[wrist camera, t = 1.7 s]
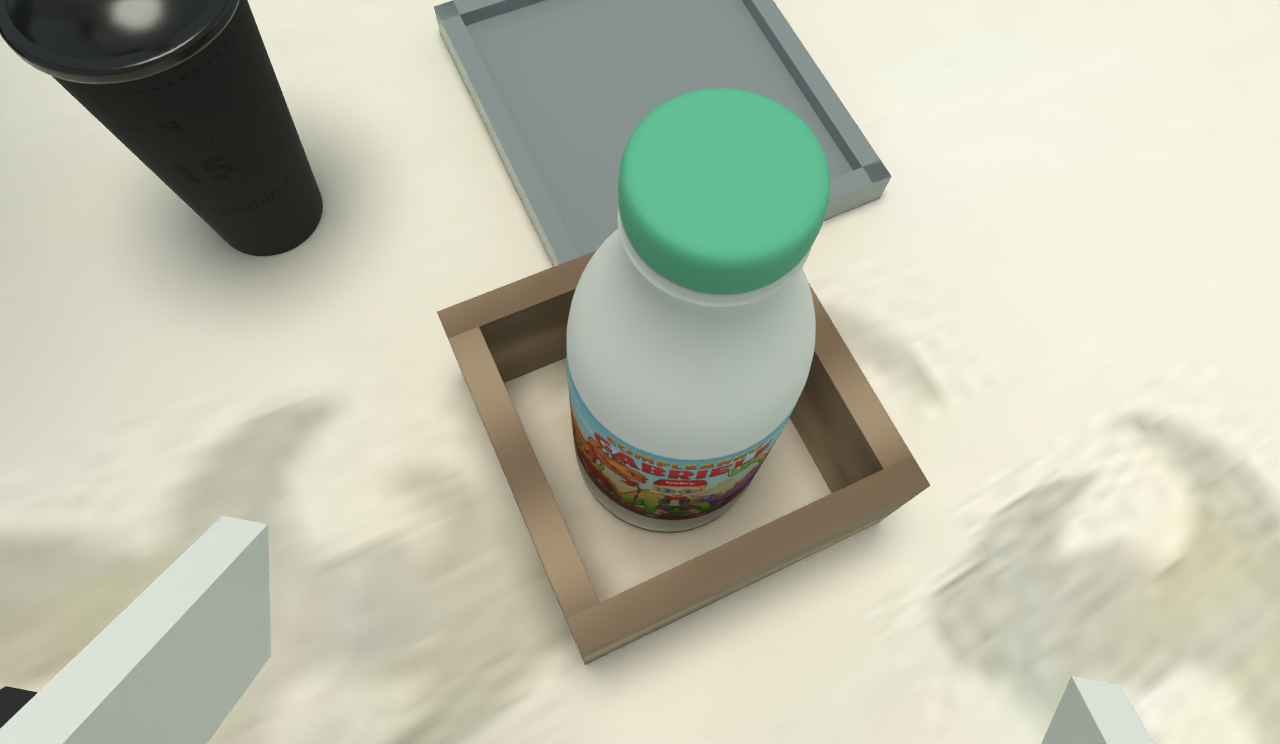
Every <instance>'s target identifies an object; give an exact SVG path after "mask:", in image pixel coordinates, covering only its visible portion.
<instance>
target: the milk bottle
mask: <svg viewBox="0 0 1280 744" xmlns="http://www.w3.org/2000/svg"><path fill="white" fill-rule="evenodd" d="M829 199H830V171H829V166H828V161H827V158H826V155H825V152H824V150H823V148H822V146H821V144H820V142H819V140H818V138H817V137H816V136H815V134H814V133H813V131H812V130H811V129H810V128H809V126H808V125H807V124H806V123H805V122H804V121H803V120H802V119H801V118H800V117H799V116H797V115H796V114H795V113H794V112H792V111H791V110H790V109H788V108H787V107H785V106H784V105H782V104H780V103H778V102H776V101H774V100H772V99H770V98H768V97H765V96H763V95H760V94H757V93H753V92H750V91H745V90H740V89H733V88H707V89H699V90H695V91H690V92H687V93H683V94H680V95H678V96H675V97H673V98H671V99H669V100H667V101H665V102H663V103H662V104H660V105H659V106H657V107H656V108H654V109H653V110H652V111H651V112H649V113H648V114H647V115H646V116H645V117H644V118H643V119H642V121H641V122H640V123H639V124H638V125H637V127H636V128H635V130H634V131H633V133H632V135H631V137H630V139H629V141H628V143H627V145H626V147H625V149H624V152H623V155H622V159H621V164H620V171H619V180H618V203H619V207H618V229H617V230H616V231H615V232H613V233H612V234H611V235H610V236H609V237H608V238H607V239H606V240H605V241H604V242H603V244H602V245H601V246H600V247H599V248H598V250H597V251H596V252H595V254H594V255H593V257H592V258H591V260H590V261H589V263H588V264H587V266H586V268H585V270H584V272H583V274H582V276H581V278H580V280H579V282H578V285H577V287H576V290H575V292H574V296H573V299H572V303H571V308H570V312H569V318H568V324H567V374H568V386H569V398H570V408H571V417H572V427H573V435H574V444H575V450H576V455H577V460H578V464H579V467H580V470H581V473H582V475H583V478H584V480H585V482H586V484H587V486H588V487H589V489H590V490H591V492H592V493H593V494H594V496H595V497H596V498H597V500H598V501H599V502H600V503H601V504H602V505H603V506H604V507H606V508H607V509H608V510H609V511H610V512H612V513H613V514H614V515H616V516H617V517H619V518H621V519H623V520H624V521H626V522H628V523H631V524H633V525H635V526H638V527H642V528H645V529H650V530H656V531H681V530H687V529H691V528H695V527H698V526H701V525H703V524H706V523H708V522H710V521H712V520H714V519H716V518H717V517H719V516H720V515H722V514H723V513H724V512H725V511H727V510H728V509H729V508H730V507H731V506H732V505H733V504H734V503H735V502H736V501H737V500H738V498H739V497H740V496H741V495H742V493H743V492H744V491H745V490H746V488H747V486H748V485H749V483H750V482H751V480H752V479H753V477H754V475H755V474H756V472H757V471H758V469H759V467H760V466H761V464H762V463H763V461H764V459H765V458H766V456H767V454H768V453H769V451H770V450H771V448H772V446H773V445H774V443H775V441H776V439H777V438H778V436H779V434H780V433H781V431H782V429H783V427H784V426H785V424H786V422H787V420H788V419H789V417H790V415H791V413H792V411H793V409H794V407H795V405H796V403H797V401H798V399H799V397H800V394H801V392H802V390H803V388H804V386H805V383H806V380H807V378H808V374H809V370H810V367H811V363H812V358H813V354H814V347H815V330H816V321H815V310H814V305H813V299H812V294H811V290H810V287H809V284H808V281H807V279H806V276H805V274H804V271H803V269H802V267H803V265H804V263H805V261H806V259H807V257H808V255H809V252H810V250H811V246H812V244H813V242H814V241H815V239H816V237H817V235H818V233H819V231H820V228H821V226H822V223H823V220H824V217H825V215H826V212H827V208H828V204H829Z"/></svg>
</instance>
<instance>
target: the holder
mask: <svg viewBox="0 0 1280 744" xmlns="http://www.w3.org/2000/svg"><path fill="white" fill-rule="evenodd" d="M596 251H597V250H596ZM596 251H594V252H591V253H588V254H586V255H583V256H581V257H578V258H576V259H573V260H570V261H568V262H565V263H563V264H560V265H557V266H555V267H552V268H550V269H547V270H544V271H542V272H539V273H537V274H534V275H531V276H529V277H526V278H524V279H521V280H518V281H516V282H513V283H511V284H508V285H506V286H503V287H500V288H498V289H495V290H493V291H490V292H487V293H485V294H482V295H480V296H477V297H474V298H472V299H469V300H467V301H464V302H461V303H459V304H456V305H454V306H451V307H448V308H446V309H443V310H441V311H438V312H437V313H438V315H439V318H440V320H441V323H442V325H443V328H444V330H445V332H446V335H447V337H448V340H449V342H450V344H451V347H452V349H453V352H454V354H455V357H456V359H457V361H458V364H459V366H460V369H461V371H462V373H463V376H464V378H465V381H466V383H467V385H468V388H469V390H470V392H471V395H472V397H473V400H474V402H475V404H476V407H477V409H478V411H479V414H480V416H481V419H482V421H483V423H484V426H485V428H486V430H487V433H488V435H489V438H490V440H491V442H492V445H493V447H494V449H495V452H496V454H497V457H498V459H499V461H500V464H501V466H502V468H503V471H504V473H505V476H506V478H507V480H508V483H509V485H510V487H511V490H512V492H513V495H514V497H515V499H516V502H517V504H518V507H519V509H520V511H521V514H522V516H523V518H524V521H525V523H526V526H527V528H528V530H529V533H530V535H531V537H532V540H533V542H534V545H535V547H536V549H537V552H538V554H539V556H540V559H541V561H542V564H543V566H544V568H545V571H546V573H547V575H548V578H549V580H550V583H551V585H552V587H553V590H554V592H555V594H556V597H557V599H558V602H559V604H560V606H561V609H562V611H563V613H564V616H565V618H566V621H567V623H568V625H569V628H570V630H571V632H572V635H573V637H574V640H575V642H576V644H577V647H578V649H579V651H580V654H581V656H582V659H583V661H584V663H585V664H588V663H590V662H592V661H594V660H596V659H598V658H600V657H602V656H604V655H606V654H608V653H610V652H612V651H614V650H616V649H618V648H620V647H623V646H625V645H627V644H629V643H631V642H633V641H635V640H637V639H639V638H641V637H643V636H645V635H647V634H649V633H651V632H653V631H655V630H658V629H660V628H662V627H664V626H666V625H668V624H670V623H672V622H674V621H676V620H678V619H680V618H682V617H684V616H686V615H688V614H691V613H693V612H695V611H697V610H699V609H701V608H703V607H705V606H707V605H709V604H711V603H713V602H715V601H717V600H719V599H721V598H723V597H726V596H728V595H730V594H732V593H734V592H736V591H738V590H740V589H742V588H744V587H746V586H748V585H750V584H752V583H754V582H756V581H758V580H761V579H763V578H765V577H767V576H769V575H771V574H773V573H775V572H777V571H779V570H781V569H783V568H785V567H787V566H789V565H791V564H793V563H796V562H798V561H800V560H802V559H804V558H806V557H808V556H810V555H812V554H814V553H816V552H818V551H820V550H822V549H824V548H826V547H828V546H831V545H833V544H835V543H837V542H839V541H841V540H843V539H845V538H847V537H849V536H851V535H853V534H855V533H857V532H859V531H861V530H863V529H866V528H868V527H870V526H872V525H874V524H876V523H878V522H880V521H881V520H883V519H884V518H885V517H887V516H888V515H890V514H891V513H892V512H894V511H895V510H897V509H898V508H899V507H901V506H902V505H904V504H905V503H906V502H908V501H909V500H911V499H912V498H914V497H915V496H916V495H918V494H919V493H921V492H922V491H923V490H925V489H926V488H928V487H929V486H930V484H929V482H928V481H927V479H926V477H925V476H924V474H923V472H922V471H921V469H920V467H919V466H918V464H917V462H916V461H915V459H914V457H913V456H912V454H911V452H910V451H909V449H908V447H907V446H906V444H905V442H904V441H903V439H902V437H901V436H900V434H899V432H898V431H897V429H896V427H895V426H894V424H893V422H892V421H891V419H890V417H889V416H888V414H887V412H886V411H885V409H884V407H883V406H882V404H881V402H880V401H879V399H878V397H877V396H876V394H875V392H874V391H873V389H872V387H871V386H870V384H869V382H868V381H867V379H866V377H865V376H864V374H863V373H862V371H861V369H860V368H859V366H858V364H857V363H856V361H855V359H854V358H853V356H852V354H851V353H850V351H849V349H848V348H847V346H846V344H845V343H844V341H843V339H842V338H841V336H840V334H839V333H838V331H837V329H836V328H835V326H834V324H833V323H832V321H831V319H830V318H829V316H828V314H827V313H826V311H825V309H824V308H823V306H822V304H821V303H820V301H819V299H818V298H817V296H816V294H815V293H814V291H813V289H812V288H811V286H810V284H809V283H808V284H809V287H810V290H811V294H812V299H813V305H814V310H815V321H816V330H815V347H814V354H813V358H812V363H811V367H810V370H809V374H808V378H807V380H806V383H805V386H804V388H803V390H802V392H801V394H800V397H799V399H798V401H797V403H796V405H795V407H794V409H793V411H792V413H791V415H790V418H791V420H792V421H793V423H794V425H795V427H796V429H797V430H798V432H799V434H800V436H801V438H802V439H803V441H804V443H805V445H806V447H807V448H808V450H809V452H810V454H811V456H812V457H813V459H814V461H815V463H816V465H817V466H818V468H819V470H820V472H821V474H822V475H823V477H824V479H825V481H826V483H827V484H828V486H829V488H830V490H831V491H832V494H830V495H828V496H826V497H824V498H822V499H819V500H817V501H815V502H813V503H811V504H809V505H807V506H805V507H802V508H800V509H798V510H796V511H794V512H792V513H790V514H788V515H786V516H783V517H781V518H779V519H777V520H775V521H773V522H771V523H769V524H766V525H764V526H762V527H760V528H758V529H756V530H754V531H752V532H750V533H747V534H745V535H743V536H741V537H739V538H737V539H735V540H733V541H730V542H728V543H726V544H724V545H722V546H720V547H718V548H716V549H714V550H711V551H709V552H707V553H705V554H703V555H701V556H699V557H697V558H694V559H692V560H690V561H688V562H686V563H684V564H682V565H680V566H678V567H675V568H673V569H671V570H669V571H667V572H665V573H663V574H661V575H658V576H656V577H654V578H652V579H650V580H648V581H646V582H644V583H642V584H639V585H637V586H635V587H633V588H631V589H629V590H627V591H625V592H622V593H620V594H618V595H616V596H614V597H612V598H610V599H608V600H606V601H603V602H601V603H600V602H599V600H598V598H597V595H596V593H595V591H594V589H593V586H592V584H591V582H590V579H589V577H588V575H587V573H586V570H585V568H584V566H583V563H582V561H581V559H580V557H579V554H578V552H577V550H576V547H575V545H574V543H573V541H572V538H571V536H570V534H569V531H568V529H567V527H566V525H565V522H564V520H563V518H562V515H561V513H560V511H559V509H558V506H557V504H556V502H555V499H554V497H553V495H552V493H551V490H550V488H549V486H548V483H547V481H546V479H545V477H544V474H543V472H542V470H541V467H540V465H539V463H538V461H537V458H536V456H535V454H534V451H533V449H532V447H531V445H530V442H529V440H528V438H527V435H526V433H525V431H524V429H523V426H522V424H521V422H520V419H519V417H518V415H517V413H516V410H515V408H514V406H513V403H512V401H511V399H510V397H509V394H508V392H507V390H506V387H505V385H504V382H506V381H509V380H511V379H514V378H516V377H518V376H521V375H523V374H526V373H528V372H531V371H533V370H536V369H538V368H540V367H543V366H545V365H548V364H550V363H553V362H555V361H558V360H560V359H562V358H565V357H567V324H568V318H569V312H570V308H571V303H572V299H573V296H574V292H575V290H576V287H577V285H578V282H579V280H580V278H581V276H582V274H583V272H584V270H585V268H586V266H587V264H588V263H589V261H590V260H591V258H592V257H593V255H594V254H595V252H596Z"/></svg>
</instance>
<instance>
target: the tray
mask: <svg viewBox="0 0 1280 744" xmlns="http://www.w3.org/2000/svg"><path fill="white" fill-rule="evenodd" d="M434 9H435V13H436V17H437V22H438V26H439V30H440V34H441V36H442V38H443V40H444V42H445V44H446V46H447V48H448V50H449V52H450V54H451V56H452V58H453V60H454V63H455V65H456V67H457V69H458V71H459V73H460V75H461V77H462V79H463V81H464V83H465V85H466V87H467V89H468V91H469V93H470V96H471V98H472V100H473V102H474V104H475V106H476V108H477V110H478V112H479V114H480V116H481V118H482V120H483V122H484V124H485V126H486V129H487V131H488V133H489V135H490V137H491V139H492V141H493V143H494V145H495V147H496V149H497V151H498V153H499V155H500V157H501V159H502V161H503V164H504V166H505V168H506V170H507V172H508V174H509V176H510V178H511V180H512V182H513V184H514V186H515V188H516V190H517V192H518V194H519V197H520V199H521V201H522V203H523V205H524V207H525V209H526V211H527V213H528V215H529V217H530V219H531V221H532V223H533V225H534V227H535V230H536V232H537V234H538V236H539V238H540V240H541V242H542V244H543V246H544V248H545V250H546V252H547V254H548V256H549V258H550V260H551V263H552V265H553V267H555V266H557V265H560V264H563V263H565V262H568V261H570V260H573V259H576V258H578V257H581V256H583V255H586V254H588V253H591V252H594V251H596V250H598V248H599V247H600V246H601V245H602V244H603V242H604V241H605V240H606V239H607V238H608V237H609V236H610V235H611V234H612V233H613V232H615V231H616V230H617V229H618V207H619V203H618V180H619V171H620V164H621V159H622V155H623V152H624V149H625V147H626V145H627V143H628V141H629V139H630V137H631V135H632V133H633V131H634V130H635V128H636V127H637V125H638V124H639V123H640V122H641V121H642V119H643V118H644V117H645V116H646V115H647V114H648V113H649V112H651V111H652V110H653V109H654V108H656V107H657V106H659V105H660V104H662V103H663V102H665V101H667V100H669V99H671V98H673V97H675V96H678V95H680V94H683V93H687V92H690V91H695V90H699V89H707V88H733V89H740V90H745V91H750V92H753V93H757V94H760V95H763V96H765V97H768V98H770V99H772V100H774V101H776V102H778V103H780V104H782V105H784V106H785V107H787V108H788V109H790V110H791V111H792V112H794V113H795V114H796V115H797V116H799V117H800V118H801V119H802V120H803V121H804V122H805V123H806V124H807V125H808V126H809V128H810V129H811V130H812V131H813V133H814V134H815V136H816V137H817V138H818V140H819V142H820V144H821V146H822V148H823V150H824V152H825V155H826V158H827V161H828V166H829V171H830V199H829V204H828V208H827V212H826V215H825V217H824V220H826V219H829V218H831V217H834V216H836V215H839V214H841V213H844V212H846V211H849V210H851V209H854V208H856V207H859V206H861V205H864V204H866V203H869V202H871V201H874V200H876V199H879V198H880V197H881V195H882V193H883V191H884V189H885V187H886V186H887V184H888V182H889V180H890V178H891V175H890V173H889V172H888V170H887V169H886V167H885V166H884V165H883V163H882V162H881V160H880V159H879V157H878V156H877V154H876V153H875V151H874V150H873V148H872V147H871V145H870V144H869V142H868V141H867V139H866V138H865V136H864V135H863V133H862V132H861V130H860V129H859V127H858V126H857V124H856V123H855V121H854V120H853V118H852V117H851V115H850V114H849V113H848V111H847V110H846V108H845V107H844V105H843V104H842V102H841V101H840V99H839V98H838V96H837V95H836V93H835V92H834V90H833V89H832V87H831V86H830V84H829V83H828V81H827V80H826V78H825V77H824V75H823V74H822V72H821V71H820V69H819V68H818V66H817V65H816V64H815V62H814V61H813V59H812V58H811V56H810V55H809V53H808V52H807V50H806V49H805V47H804V46H803V44H802V43H801V41H800V40H799V38H798V37H797V35H796V34H795V32H794V31H793V29H792V28H791V26H790V25H789V23H788V22H787V20H786V19H785V17H784V16H783V14H782V13H781V12H780V10H779V9H778V7H777V6H776V4H775V3H774V1H773V0H453V1H450V2H447V3H444V4H441V5H438V6H434ZM824 220H823V221H824Z"/></svg>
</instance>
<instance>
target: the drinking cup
mask: <svg viewBox="0 0 1280 744" xmlns="http://www.w3.org/2000/svg"><path fill="white" fill-rule="evenodd" d="M0 34H1V36H2V38H3V39H4V40H5V41H6V43H7V44H8V45H9V46H10V48H11V49H12V50H13V51H14V52H15V53H16V54H17V55H18V56H19V57H20V58H22V59H23V60H24V61H25V62H27V63H28V64H30V65H31V66H33V67H35V68H36V69H38V70H40V71H42V72H44V73H47V74H49V75H51V76H52V77H53V78H55V79H56V80H57V81H58V82H59V83H60V84H61V85H62V86H63V87H64V88H65V89H66V90H67V91H68V92H69V93H70V94H71V95H72V96H74V97H75V98H76V99H77V100H78V101H79V102H80V103H81V104H82V105H83V106H84V107H85V108H86V109H87V110H88V111H89V112H90V113H91V114H92V115H94V116H95V117H96V118H97V119H98V120H99V121H100V122H101V123H102V124H103V125H104V126H105V127H106V128H107V129H108V130H109V131H110V132H111V133H113V134H114V135H115V136H116V137H117V138H118V139H119V140H120V141H121V142H122V143H123V144H124V145H125V146H126V147H127V148H128V149H129V150H130V151H132V152H133V153H134V154H135V155H136V156H137V157H138V158H139V159H140V160H141V161H142V162H143V163H144V164H145V165H146V166H147V167H148V168H149V169H151V170H152V171H153V172H154V173H155V174H156V175H157V176H158V177H159V178H160V179H161V180H162V181H163V182H164V183H165V184H166V185H167V186H168V187H170V188H171V189H172V190H173V191H174V192H175V193H176V194H177V195H178V196H179V197H180V198H181V199H182V200H183V201H184V202H185V203H186V204H187V205H189V206H190V207H191V208H192V209H193V210H194V211H195V212H196V213H197V214H198V215H199V216H200V217H201V218H202V219H203V220H204V221H205V222H206V223H208V224H209V225H210V226H211V227H212V228H213V229H214V230H215V231H216V232H217V233H218V234H219V235H220V236H221V237H222V238H223V239H224V240H225V241H227V242H228V243H229V244H230V245H231V246H232V247H234V248H236V249H237V250H239V251H242V252H244V253H247V254H252V255H261V256H266V255H275V254H279V253H282V252H286V251H288V250H290V249H292V248H294V247H296V246H298V245H299V244H301V243H302V242H303V241H305V240H306V239H307V238H308V237H309V236H310V235H311V234H312V232H313V231H314V230H315V228H316V226H317V225H318V222H319V220H320V217H321V213H322V198H321V194H320V192H319V189H318V186H317V184H316V181H315V178H314V176H313V173H312V170H311V168H310V165H309V162H308V160H307V157H306V154H305V152H304V149H303V147H302V144H301V141H300V139H299V136H298V133H297V131H296V128H295V125H294V123H293V120H292V117H291V115H290V112H289V109H288V107H287V104H286V102H285V99H284V96H283V94H282V91H281V88H280V86H279V83H278V80H277V78H276V75H275V72H274V70H273V67H272V64H271V62H270V59H269V57H268V54H267V51H266V49H265V46H264V43H263V41H262V38H261V35H260V33H259V30H258V27H257V25H256V22H255V19H254V17H253V14H252V11H251V9H250V6H249V4H248V1H247V0H0Z"/></svg>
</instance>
